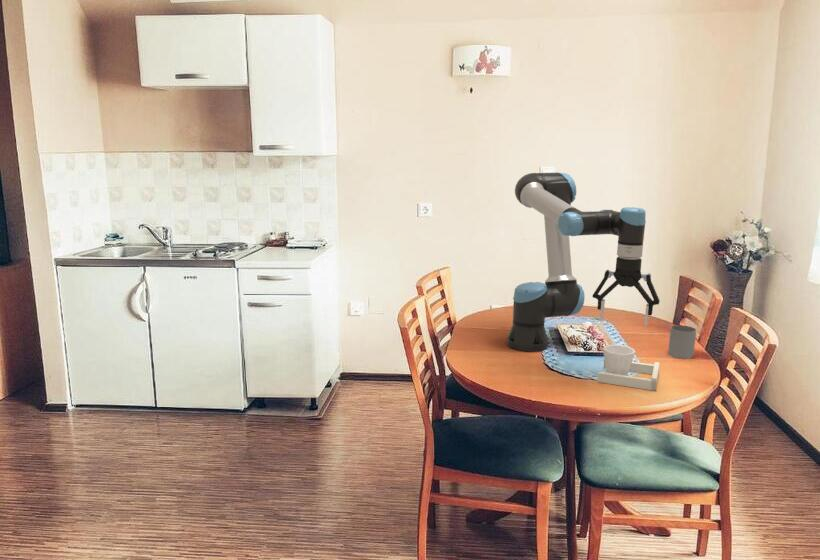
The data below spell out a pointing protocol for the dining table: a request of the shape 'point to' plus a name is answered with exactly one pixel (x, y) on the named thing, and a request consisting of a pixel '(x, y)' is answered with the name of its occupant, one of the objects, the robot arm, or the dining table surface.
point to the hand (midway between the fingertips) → (623, 322)
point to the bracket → (633, 381)
